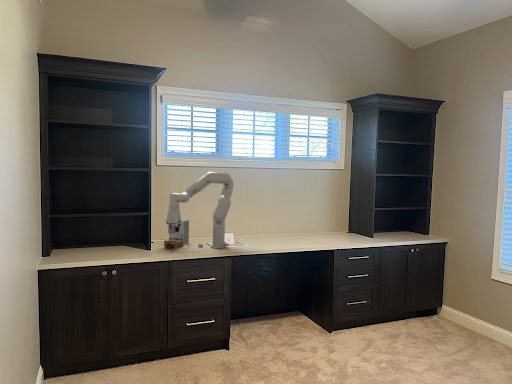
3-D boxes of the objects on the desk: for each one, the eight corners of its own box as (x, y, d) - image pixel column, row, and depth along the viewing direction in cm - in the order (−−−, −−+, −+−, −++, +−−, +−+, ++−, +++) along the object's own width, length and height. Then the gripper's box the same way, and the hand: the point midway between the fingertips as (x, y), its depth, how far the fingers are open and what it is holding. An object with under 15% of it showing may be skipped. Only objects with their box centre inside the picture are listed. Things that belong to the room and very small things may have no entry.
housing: (174, 233, 296) (174, 226, 296) (168, 233, 298) (168, 225, 298) (179, 232, 304) (179, 224, 304) (173, 231, 306) (173, 224, 305)
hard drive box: (168, 242, 319) (168, 218, 318) (174, 241, 326) (174, 217, 325) (183, 245, 312) (183, 220, 311) (189, 243, 319) (189, 219, 318)
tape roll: (203, 246, 308) (203, 244, 307) (201, 247, 304) (201, 244, 304) (199, 246, 309) (199, 243, 308) (197, 247, 305) (197, 244, 305)
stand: (183, 246, 306) (183, 238, 306) (175, 249, 295) (175, 241, 294) (172, 245, 309) (172, 237, 309) (164, 248, 298) (164, 240, 297)
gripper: (162, 208, 299) (161, 231, 300) (181, 209, 294) (181, 233, 295) (167, 207, 306) (166, 229, 307) (186, 208, 301) (185, 231, 302)
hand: (173, 231), depth 301 cm, fingers closed on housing, 5 cm apart
